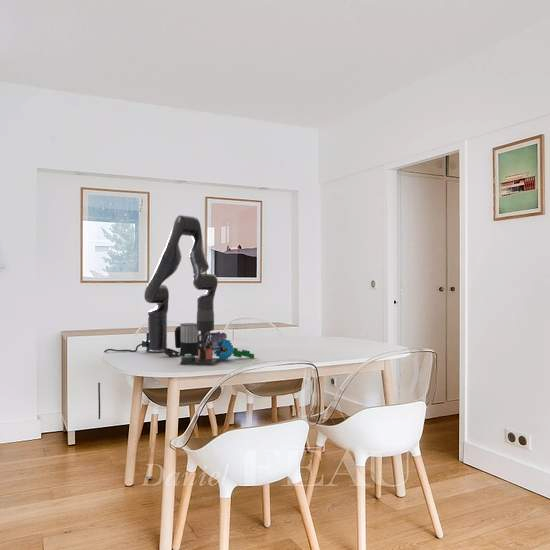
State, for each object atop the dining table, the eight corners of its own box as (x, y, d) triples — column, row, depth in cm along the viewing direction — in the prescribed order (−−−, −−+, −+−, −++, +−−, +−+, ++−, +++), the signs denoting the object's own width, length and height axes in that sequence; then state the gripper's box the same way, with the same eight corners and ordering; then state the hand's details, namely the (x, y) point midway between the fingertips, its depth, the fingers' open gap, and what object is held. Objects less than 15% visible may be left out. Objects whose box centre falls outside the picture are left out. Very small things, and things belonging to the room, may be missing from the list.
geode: (192, 351, 268) (190, 331, 269) (185, 351, 279) (184, 332, 280) (230, 347, 277) (228, 328, 278) (222, 347, 287) (220, 329, 289)
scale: (179, 364, 227) (179, 357, 227) (189, 360, 239) (189, 353, 239) (211, 366, 224) (211, 358, 224) (220, 361, 236) (220, 354, 236)
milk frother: (202, 354, 259) (202, 323, 259) (187, 358, 244) (187, 326, 244) (176, 352, 263) (176, 322, 263) (159, 357, 248) (159, 325, 248)
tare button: (183, 358, 228) (183, 354, 228) (186, 357, 231) (186, 353, 231) (190, 358, 228) (190, 354, 228) (192, 357, 230) (192, 353, 230)
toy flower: (255, 367, 242) (219, 359, 234) (246, 364, 250) (211, 357, 242) (259, 347, 243) (224, 339, 235) (251, 345, 251) (216, 337, 243)
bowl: (196, 360, 231) (196, 349, 231) (200, 358, 237) (200, 348, 237) (209, 360, 229) (209, 350, 229) (214, 358, 235) (214, 348, 235)
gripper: (202, 318, 241) (202, 355, 241) (191, 320, 227) (191, 360, 227) (218, 318, 239) (218, 355, 239) (208, 321, 225) (208, 360, 225)
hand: (205, 357), depth 233 cm, fingers closed on bowl, 6 cm apart
